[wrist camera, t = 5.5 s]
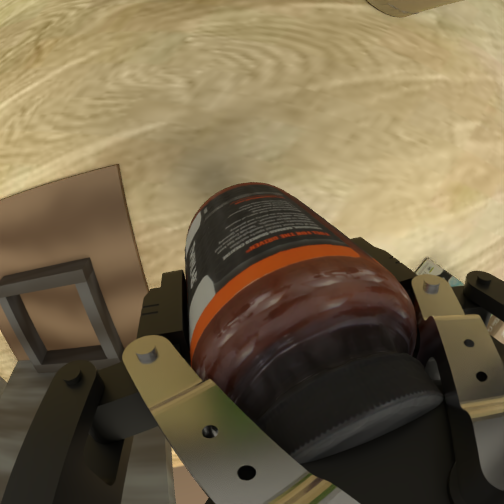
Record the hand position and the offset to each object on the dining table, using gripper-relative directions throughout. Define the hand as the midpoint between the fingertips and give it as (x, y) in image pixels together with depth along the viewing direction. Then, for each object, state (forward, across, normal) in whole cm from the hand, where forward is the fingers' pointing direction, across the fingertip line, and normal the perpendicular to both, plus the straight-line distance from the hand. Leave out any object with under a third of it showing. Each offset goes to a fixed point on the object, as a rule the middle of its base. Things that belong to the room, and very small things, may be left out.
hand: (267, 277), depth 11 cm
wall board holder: (+16, +18, +6) cm, 25 cm away
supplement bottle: (+4, 0, 0) cm, 4 cm away
